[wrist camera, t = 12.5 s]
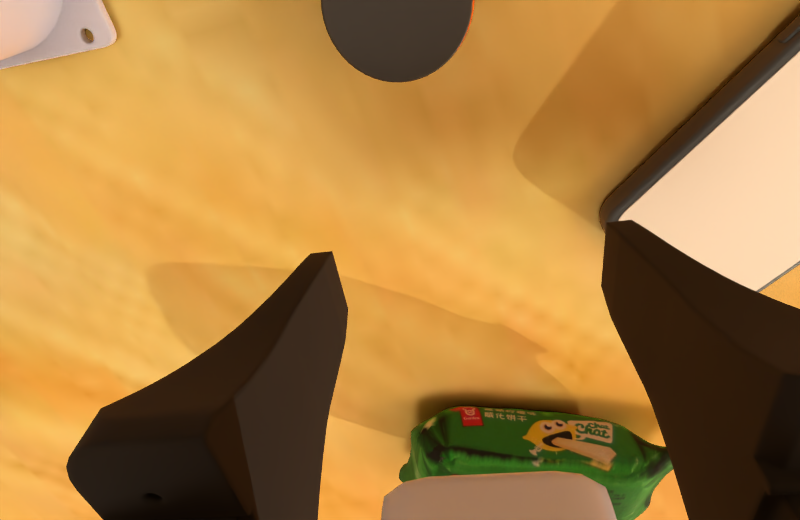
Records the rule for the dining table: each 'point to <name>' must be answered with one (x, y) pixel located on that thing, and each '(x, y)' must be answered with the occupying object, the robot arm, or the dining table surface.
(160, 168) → the dining table surface
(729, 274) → the phone case
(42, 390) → the dining table surface
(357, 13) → the dark brown cylinder
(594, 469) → the snack package
